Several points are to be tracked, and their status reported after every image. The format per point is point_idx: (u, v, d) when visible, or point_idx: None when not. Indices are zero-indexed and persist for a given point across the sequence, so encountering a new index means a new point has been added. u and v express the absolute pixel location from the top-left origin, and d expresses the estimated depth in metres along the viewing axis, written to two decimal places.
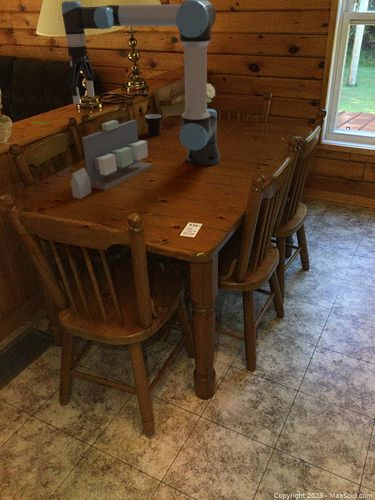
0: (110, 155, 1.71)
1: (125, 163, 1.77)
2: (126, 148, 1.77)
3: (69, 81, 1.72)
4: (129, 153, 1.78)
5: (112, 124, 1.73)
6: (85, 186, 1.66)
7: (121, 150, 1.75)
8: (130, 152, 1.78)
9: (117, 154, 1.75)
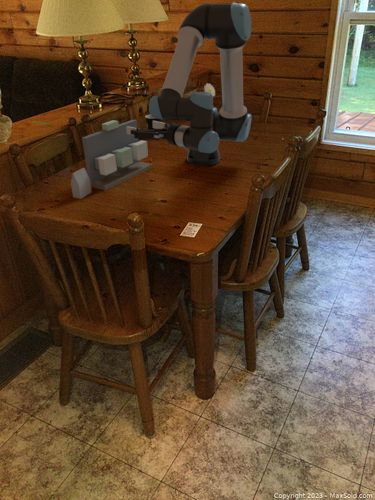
0: (110, 155, 1.71)
1: (125, 163, 1.77)
2: (126, 148, 1.77)
3: None
4: (129, 153, 1.78)
5: (112, 124, 1.73)
6: (85, 186, 1.66)
7: (121, 150, 1.75)
8: (130, 152, 1.78)
9: (117, 154, 1.75)
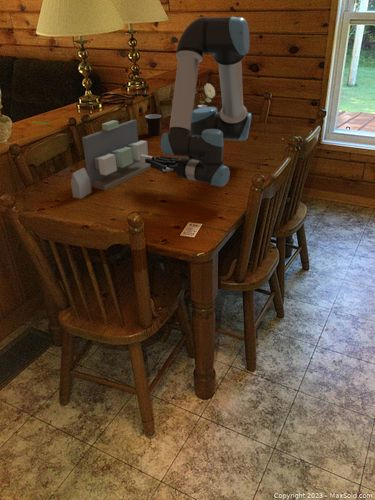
0: (110, 155, 1.71)
1: (125, 163, 1.77)
2: (126, 148, 1.77)
3: None
4: (129, 153, 1.78)
5: (112, 124, 1.73)
6: (85, 186, 1.66)
7: (121, 150, 1.75)
8: (130, 152, 1.78)
9: (117, 154, 1.75)
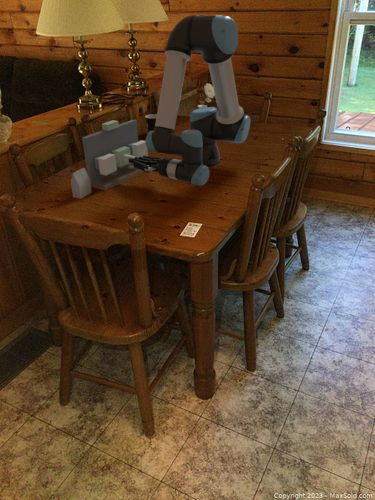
0: (110, 155, 1.71)
1: (123, 162, 1.78)
2: (124, 148, 1.78)
3: None
4: (127, 153, 1.78)
5: (112, 124, 1.73)
6: (85, 186, 1.66)
7: (119, 150, 1.76)
8: (128, 152, 1.79)
9: (115, 154, 1.76)
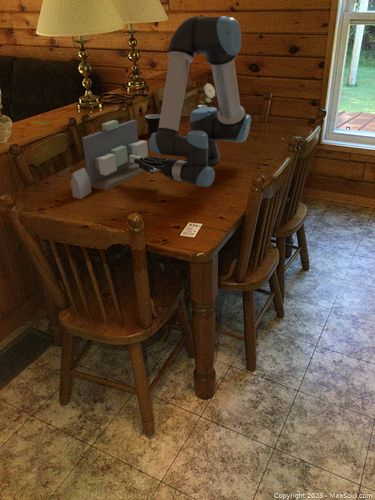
0: (110, 155, 1.71)
1: (119, 161, 1.79)
2: (121, 147, 1.79)
3: None
4: (124, 152, 1.79)
5: (112, 124, 1.73)
6: (85, 186, 1.66)
7: (116, 149, 1.77)
8: (125, 151, 1.80)
9: (112, 153, 1.77)
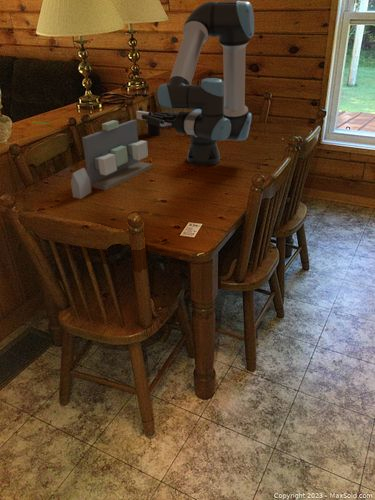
0: (110, 155, 1.71)
1: (119, 161, 1.79)
2: (121, 147, 1.79)
3: None
4: (124, 152, 1.79)
5: (112, 124, 1.73)
6: (85, 186, 1.66)
7: (116, 149, 1.77)
8: (125, 151, 1.80)
9: (112, 153, 1.77)
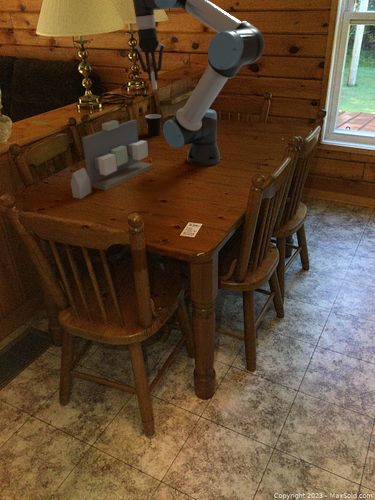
0: (110, 155, 1.71)
1: (119, 161, 1.79)
2: (121, 147, 1.79)
3: None
4: (124, 152, 1.79)
5: (112, 124, 1.73)
6: (85, 186, 1.66)
7: (116, 149, 1.77)
8: (125, 151, 1.80)
9: (112, 153, 1.77)
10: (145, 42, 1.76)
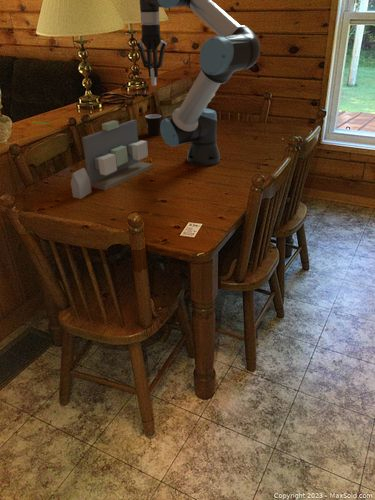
0: (110, 155, 1.71)
1: (119, 161, 1.79)
2: (121, 147, 1.79)
3: None
4: (124, 152, 1.79)
5: (112, 124, 1.73)
6: (85, 186, 1.66)
7: (116, 149, 1.77)
8: (125, 151, 1.80)
9: (112, 153, 1.77)
10: (147, 38, 1.77)
